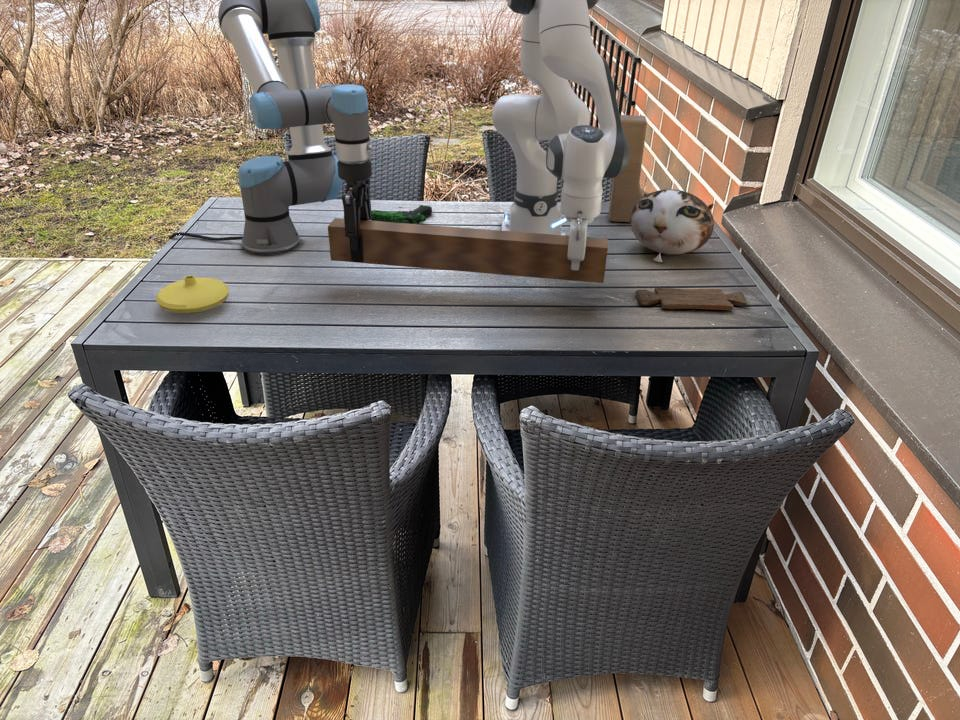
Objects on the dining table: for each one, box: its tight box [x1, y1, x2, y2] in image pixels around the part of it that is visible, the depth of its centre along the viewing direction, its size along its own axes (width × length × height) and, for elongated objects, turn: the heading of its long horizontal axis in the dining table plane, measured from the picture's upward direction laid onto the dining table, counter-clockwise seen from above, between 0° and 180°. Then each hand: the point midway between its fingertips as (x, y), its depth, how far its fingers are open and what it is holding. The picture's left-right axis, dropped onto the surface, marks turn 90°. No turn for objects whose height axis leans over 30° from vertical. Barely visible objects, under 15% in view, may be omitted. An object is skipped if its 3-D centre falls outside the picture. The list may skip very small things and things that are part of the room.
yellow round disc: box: [155, 274, 230, 315], centre depth 163 cm, size 16×16×7 cm
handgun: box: [370, 204, 433, 224], centre depth 216 cm, size 16×3×15 cm
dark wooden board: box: [635, 287, 748, 311], centre depth 169 cm, size 26×2×10 cm
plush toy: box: [629, 188, 715, 263], centre depth 192 cm, size 22×18×20 cm
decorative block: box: [608, 114, 651, 223], centre depth 211 cm, size 8×15×30 cm, turn 82°
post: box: [327, 217, 609, 284], centre depth 166 cm, size 64×5×9 cm, turn 81°
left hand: (361, 256), depth 171 cm, fingers closed on post, 5 cm apart
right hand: (575, 262), depth 163 cm, fingers closed on post, 5 cm apart
